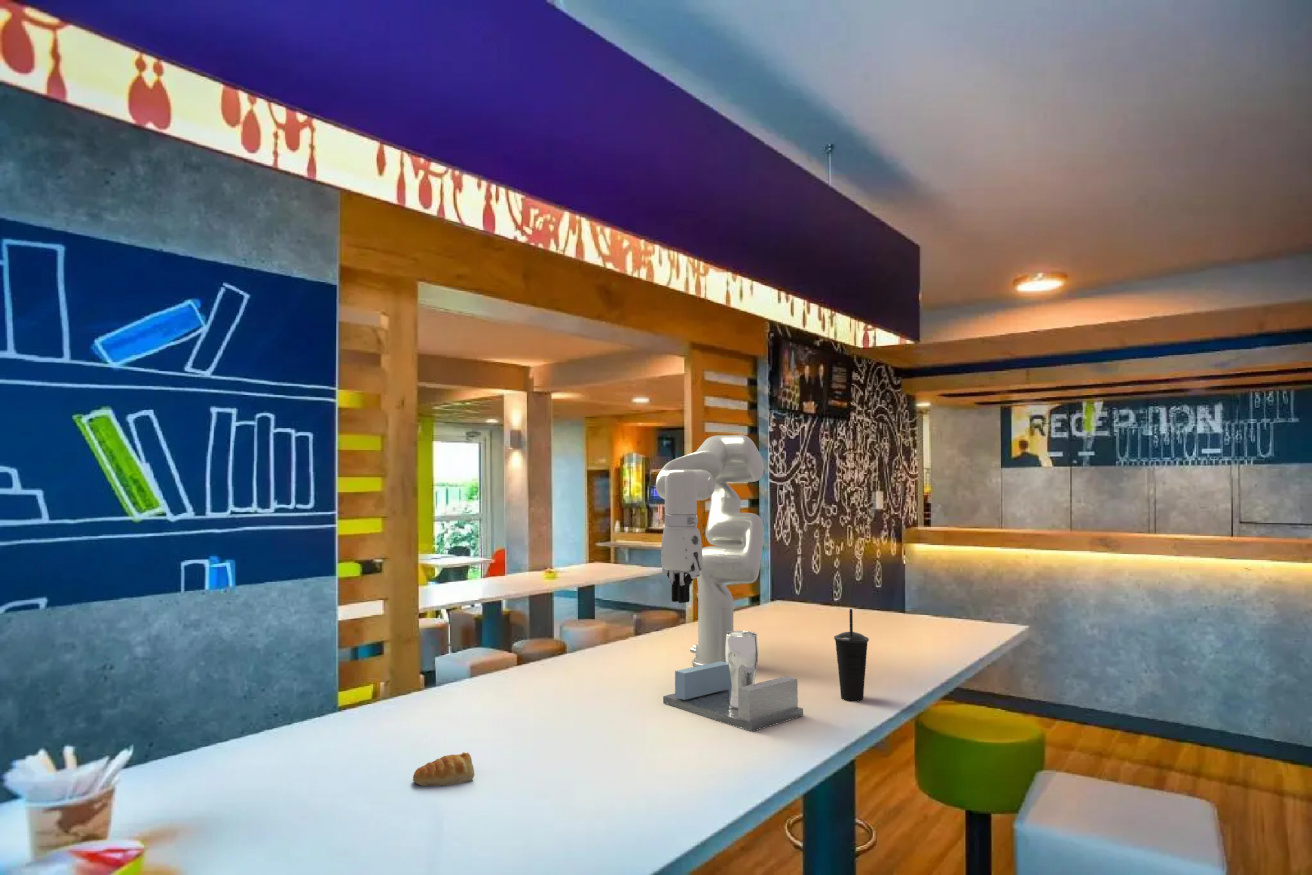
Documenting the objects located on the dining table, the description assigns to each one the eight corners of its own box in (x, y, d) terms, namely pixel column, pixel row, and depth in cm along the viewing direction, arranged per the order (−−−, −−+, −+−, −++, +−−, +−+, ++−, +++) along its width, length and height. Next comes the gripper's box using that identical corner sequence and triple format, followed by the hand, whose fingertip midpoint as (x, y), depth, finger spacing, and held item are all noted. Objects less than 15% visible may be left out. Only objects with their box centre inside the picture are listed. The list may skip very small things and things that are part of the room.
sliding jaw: (675, 696, 166) (675, 670, 167) (720, 685, 176) (720, 661, 176) (684, 699, 164) (684, 673, 164) (730, 688, 173) (730, 663, 174)
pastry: (417, 793, 118) (418, 768, 119) (408, 779, 124) (409, 755, 124) (477, 782, 123) (477, 757, 123) (465, 769, 129) (466, 745, 129)
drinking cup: (866, 694, 175) (865, 606, 177) (872, 703, 168) (871, 612, 169) (832, 693, 176) (831, 606, 178) (837, 702, 169) (836, 611, 170)
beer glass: (721, 707, 159) (721, 635, 160) (730, 699, 165) (730, 629, 166) (753, 711, 156) (753, 637, 157) (761, 703, 163) (761, 631, 164)
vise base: (663, 702, 168) (663, 668, 168) (714, 690, 178) (714, 658, 179) (751, 731, 148) (751, 692, 149) (803, 715, 159) (802, 679, 159)
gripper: (715, 523, 175) (715, 604, 173) (670, 520, 186) (670, 596, 185) (692, 523, 170) (692, 607, 168) (646, 521, 181) (646, 599, 180)
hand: (680, 601), depth 177 cm, fingers closed
